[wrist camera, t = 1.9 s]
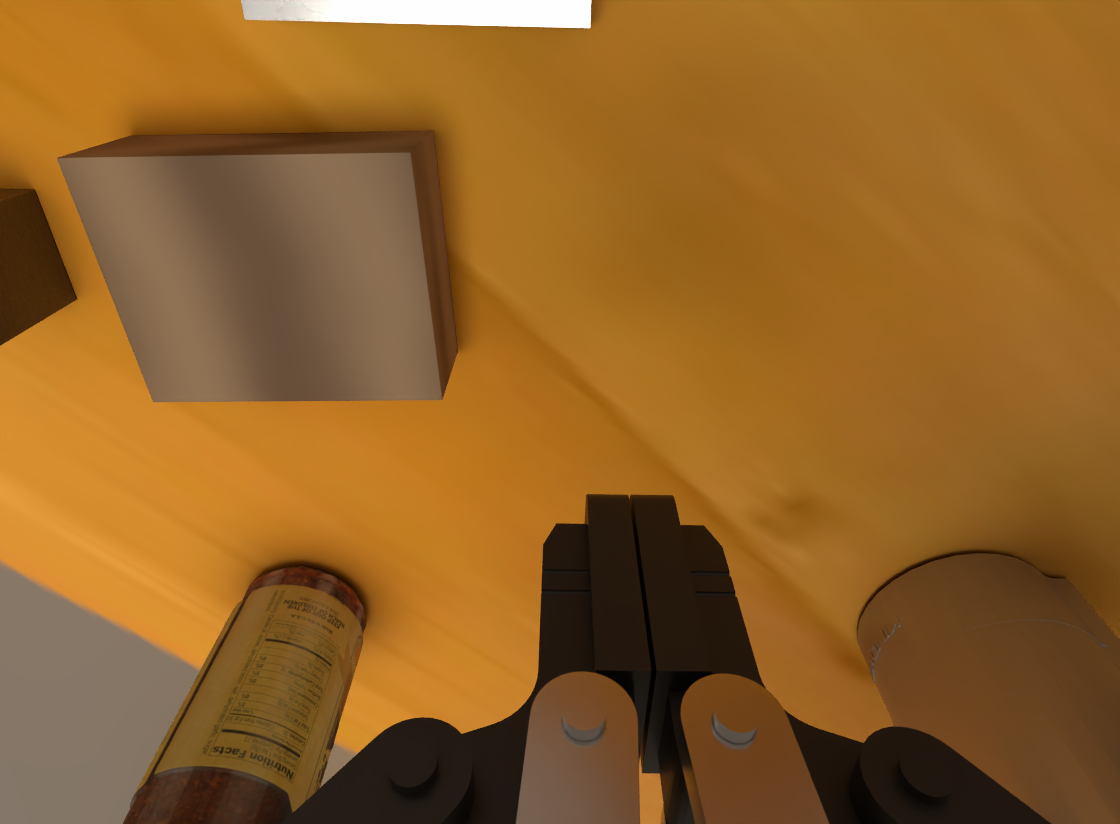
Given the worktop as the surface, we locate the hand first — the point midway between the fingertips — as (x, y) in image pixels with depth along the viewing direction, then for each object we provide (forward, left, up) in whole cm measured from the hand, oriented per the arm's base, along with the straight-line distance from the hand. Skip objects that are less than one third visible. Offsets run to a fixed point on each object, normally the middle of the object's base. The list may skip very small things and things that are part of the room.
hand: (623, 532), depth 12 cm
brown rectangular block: (+10, 0, -15) cm, 18 cm away
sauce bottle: (+13, +18, -14) cm, 27 cm away
